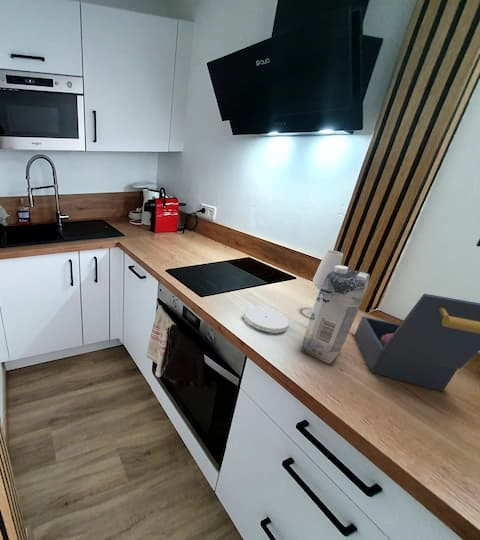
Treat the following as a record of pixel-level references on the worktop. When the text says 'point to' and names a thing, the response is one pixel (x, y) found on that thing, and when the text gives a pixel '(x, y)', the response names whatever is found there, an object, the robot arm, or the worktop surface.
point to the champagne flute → (324, 272)
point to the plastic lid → (266, 319)
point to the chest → (398, 358)
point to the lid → (439, 331)
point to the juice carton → (334, 312)
